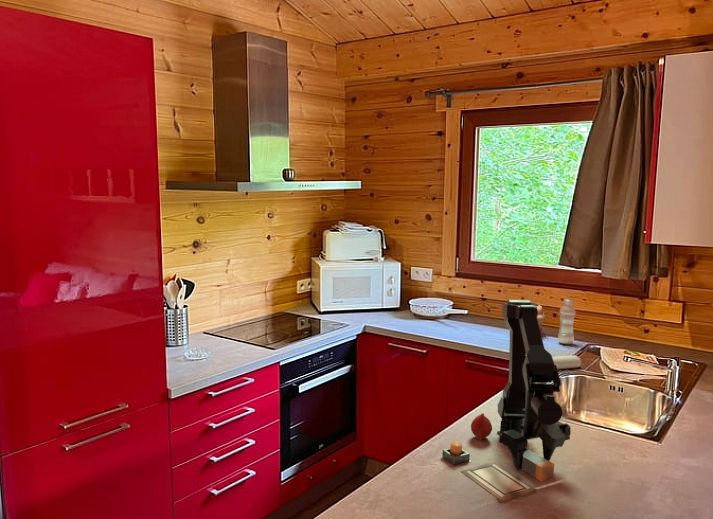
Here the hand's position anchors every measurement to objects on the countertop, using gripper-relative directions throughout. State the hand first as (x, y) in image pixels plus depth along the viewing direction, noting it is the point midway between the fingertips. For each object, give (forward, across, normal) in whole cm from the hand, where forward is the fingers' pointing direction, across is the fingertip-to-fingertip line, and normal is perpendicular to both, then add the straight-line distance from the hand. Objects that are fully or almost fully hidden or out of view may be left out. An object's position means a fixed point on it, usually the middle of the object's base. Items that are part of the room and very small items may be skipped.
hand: (532, 466), depth 157 cm
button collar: (+1, -14, +13) cm, 19 cm away
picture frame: (+2, -12, 0) cm, 12 cm away
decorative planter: (+2, +93, +101) cm, 137 cm away
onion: (+2, 0, +20) cm, 21 cm away
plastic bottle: (+2, +96, +81) cm, 125 cm away
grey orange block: (+2, 0, 0) cm, 2 cm away
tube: (+2, +65, +58) cm, 87 cm away
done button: (0, -14, +13) cm, 19 cm away
